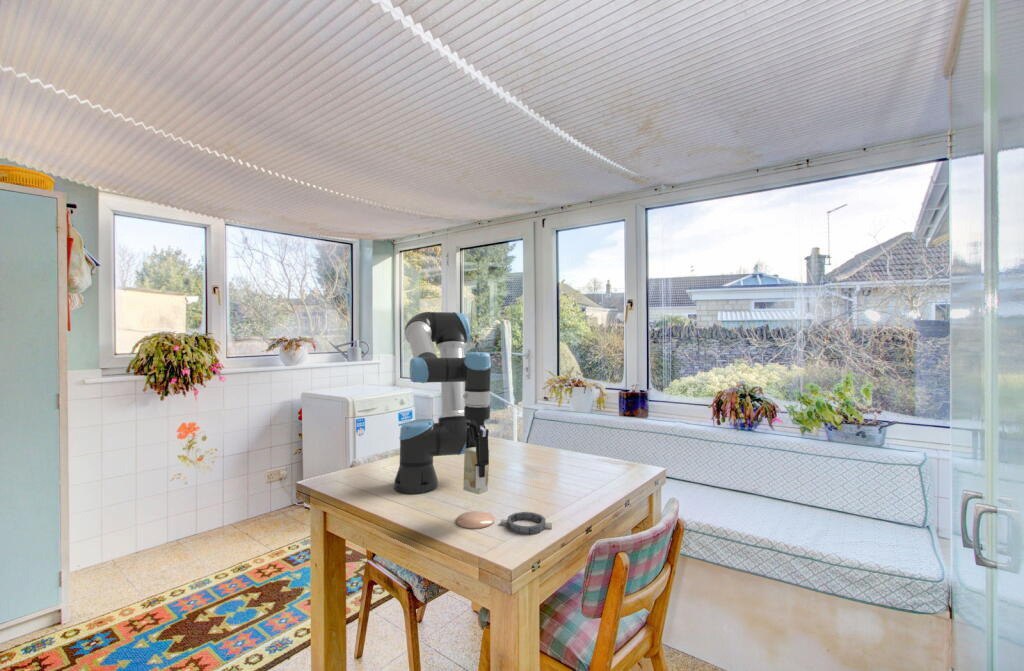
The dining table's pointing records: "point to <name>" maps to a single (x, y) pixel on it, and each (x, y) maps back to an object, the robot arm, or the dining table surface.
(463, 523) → the peach dome button
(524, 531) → the bayonet collar
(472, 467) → the skincare box
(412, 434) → the robot arm
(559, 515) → the dining table surface
